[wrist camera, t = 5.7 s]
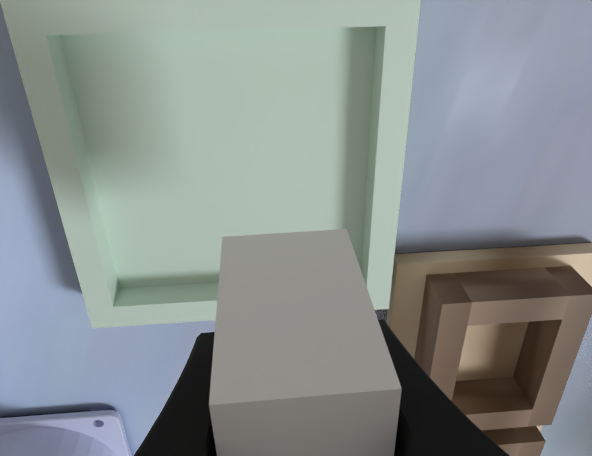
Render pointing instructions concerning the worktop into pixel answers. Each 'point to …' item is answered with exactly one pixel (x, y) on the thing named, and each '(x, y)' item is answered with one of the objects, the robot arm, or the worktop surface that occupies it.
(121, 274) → the tray
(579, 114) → the worktop surface
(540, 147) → the worktop surface
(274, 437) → the plug
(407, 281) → the wooden holder
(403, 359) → the robot arm
